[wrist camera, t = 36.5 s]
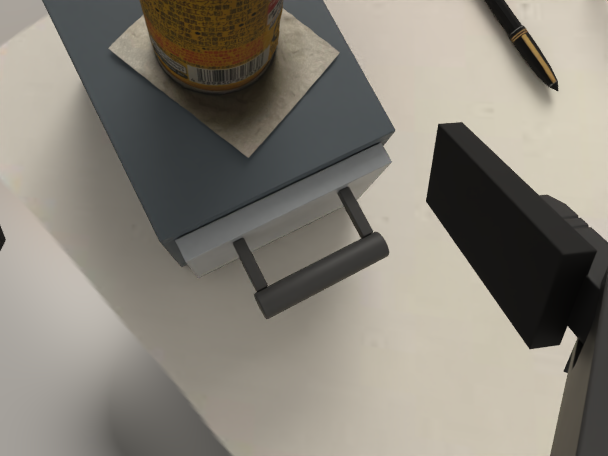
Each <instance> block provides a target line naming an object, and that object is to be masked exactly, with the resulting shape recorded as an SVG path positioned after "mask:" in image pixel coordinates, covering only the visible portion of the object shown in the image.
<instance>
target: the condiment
mask: <svg viewBox="0 0 608 456" xmlns="http://www.w3.org/2000/svg"><path fill="white" fill-rule="evenodd" d="M139 2H140V4H141V8H142V12H143V16H142V17H141V18H140V19H138V20H137V21H136V22H135V23H134V24H133V25H131V26H130V27H129V28H128V29H127V30H126V31H125V32H124V33H123V34H122V35H121V36H120V37H119V38H118V39H117V40H116V41H115V42H114V43H113V44H112V45H111V46H110V47H109V48H108V49H110V50H111V51H112V52H113V53H115V54H116V55H117V56H119V57H120V58H121V59H122V60H123V61H125V62H126V63H127V64H128V65H130V66H131V67H132V68H133V69H135V70H136V71H137V72H138V73H140V74H141V75H142V76H144V77H145V78H146V79H147V80H149V81H150V82H151V83H152V84H154V85H155V86H156V87H157V88H158V89H160V90H161V91H163V92H164V93H165V94H166V95H168V96H169V97H170V98H172V99H173V100H174V101H176V102H177V103H178V104H179V105H181V106H182V107H183V108H185V109H186V110H188V111H189V112H190V113H192V114H193V115H194V116H196V117H197V118H198V119H199V120H200V121H201V122H203V123H204V124H205V125H207V126H208V127H209V128H210V129H211V130H213V131H214V132H215V133H216V134H218V135H219V136H220V137H222V138H223V139H225V140H226V141H228V142H229V143H230V144H232V145H233V146H234V147H235V148H236V149H238V150H239V151H240V152H241V153H243V154H244V155H245V156H247V157H248V158H249V157H250V156H251V155H252V153H253V152H254V151H255V150H256V149H257V148H258V146H259V145H261V144H262V142H263V141H264V140H265V139H266V138H267V137H268V135H269V134H270V133H271V132H272V131H273V130H274V129H275V127H276V126H277V125H278V124H279V123H280V122H281V121H282V120H283V119H284V117H285V116H286V115H287V114H288V113H289V112H290V110H291V109H292V108H293V107H294V106H295V105H296V103H297V102H298V101H299V100H300V99H301V98H302V97H303V96H304V95H305V93H306V92H307V91H308V89H309V88H310V87H311V86H312V84H314V82H315V81H316V80H317V79H318V78H319V77H320V76H321V74H322V73H323V72H324V71H325V70H326V68H327V67H328V66H329V65H330V64H331V63H332V61H333V60H334V59H335V58H336V57H337V56H338V54H339V53H340V52H338V51H337V50H336V49H335V48H333V47H332V46H331V45H330V44H329V43H327V42H326V41H325V40H323V39H322V38H320V37H319V36H318V35H316V34H315V33H314V32H313V31H312V30H311V29H310V28H309V27H307V26H305V25H304V24H302V23H301V22H300V21H299V20H297V19H296V18H295V17H294V16H293V15H292V14H290V13H288V12H287V11H286V10H284V9H283V0H139Z"/></svg>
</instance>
